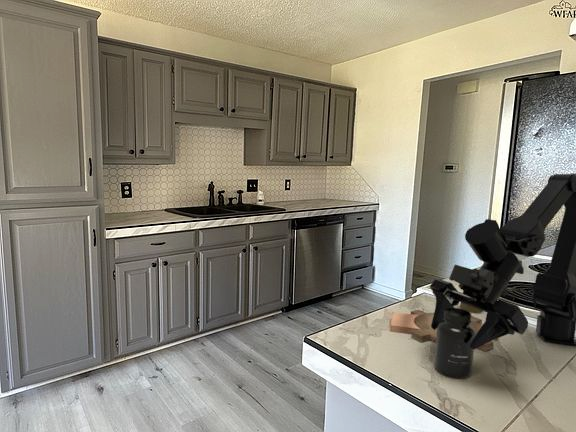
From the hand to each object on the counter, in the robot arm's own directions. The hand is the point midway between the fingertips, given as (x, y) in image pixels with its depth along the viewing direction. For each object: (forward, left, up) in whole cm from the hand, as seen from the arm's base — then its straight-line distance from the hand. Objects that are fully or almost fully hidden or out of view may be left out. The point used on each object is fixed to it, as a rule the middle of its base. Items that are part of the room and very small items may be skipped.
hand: (450, 337), depth 72 cm
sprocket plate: (0, -20, -7) cm, 21 cm away
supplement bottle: (-1, -1, -7) cm, 7 cm away
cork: (-10, -38, -7) cm, 40 cm away
